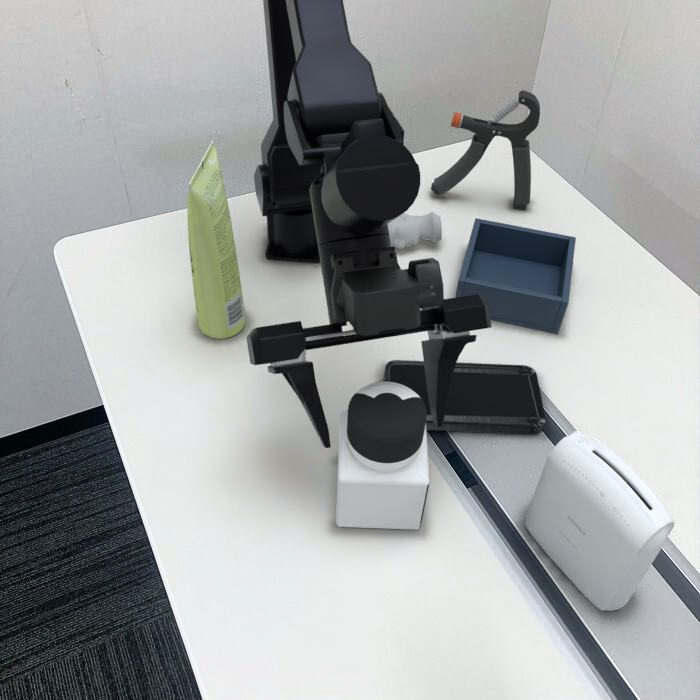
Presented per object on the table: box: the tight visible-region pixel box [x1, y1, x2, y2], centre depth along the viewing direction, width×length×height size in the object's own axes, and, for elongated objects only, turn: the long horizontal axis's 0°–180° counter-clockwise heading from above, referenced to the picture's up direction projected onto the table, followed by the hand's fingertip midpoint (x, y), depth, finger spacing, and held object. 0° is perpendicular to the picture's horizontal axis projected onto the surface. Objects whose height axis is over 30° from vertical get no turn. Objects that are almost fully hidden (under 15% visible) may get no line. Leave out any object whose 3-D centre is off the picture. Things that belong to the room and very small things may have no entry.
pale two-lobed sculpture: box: [388, 211, 443, 250], centre depth 89 cm, size 4×8×5 cm
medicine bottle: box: [335, 381, 431, 531], centre depth 61 cm, size 7×7×12 cm
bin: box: [454, 217, 577, 335], centre depth 83 cm, size 11×11×5 cm
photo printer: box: [524, 430, 676, 612], centre depth 57 cm, size 10×4×12 cm, turn 32°
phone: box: [383, 359, 546, 435], centre depth 73 cm, size 8×1×15 cm
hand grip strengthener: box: [430, 90, 541, 210], centre depth 91 cm, size 2×12×15 cm, turn 79°
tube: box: [186, 139, 246, 339], centre depth 73 cm, size 6×5×20 cm
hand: (383, 437), depth 60 cm, fingers open, 9 cm apart
